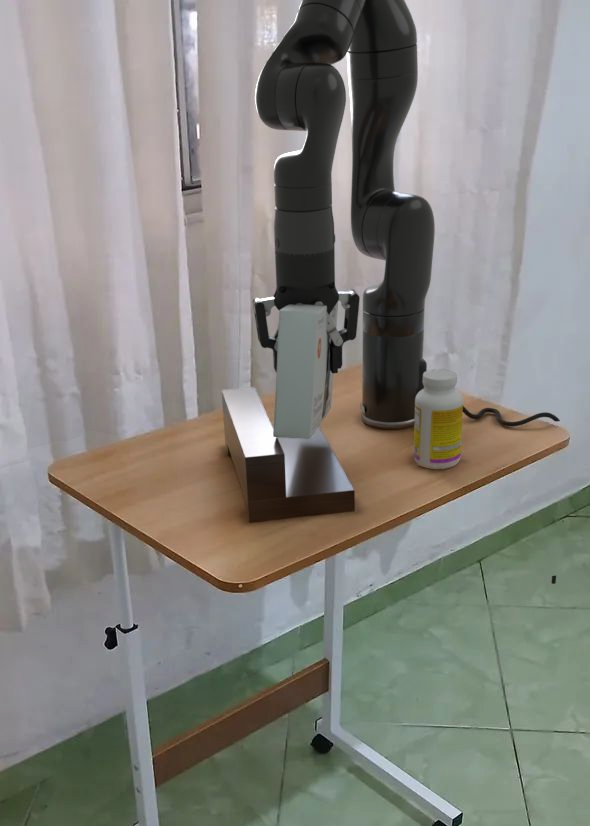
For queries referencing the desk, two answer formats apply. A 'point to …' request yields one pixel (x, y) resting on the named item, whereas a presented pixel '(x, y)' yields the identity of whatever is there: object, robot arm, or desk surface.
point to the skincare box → (302, 370)
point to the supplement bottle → (438, 421)
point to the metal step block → (281, 464)
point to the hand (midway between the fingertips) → (308, 373)
